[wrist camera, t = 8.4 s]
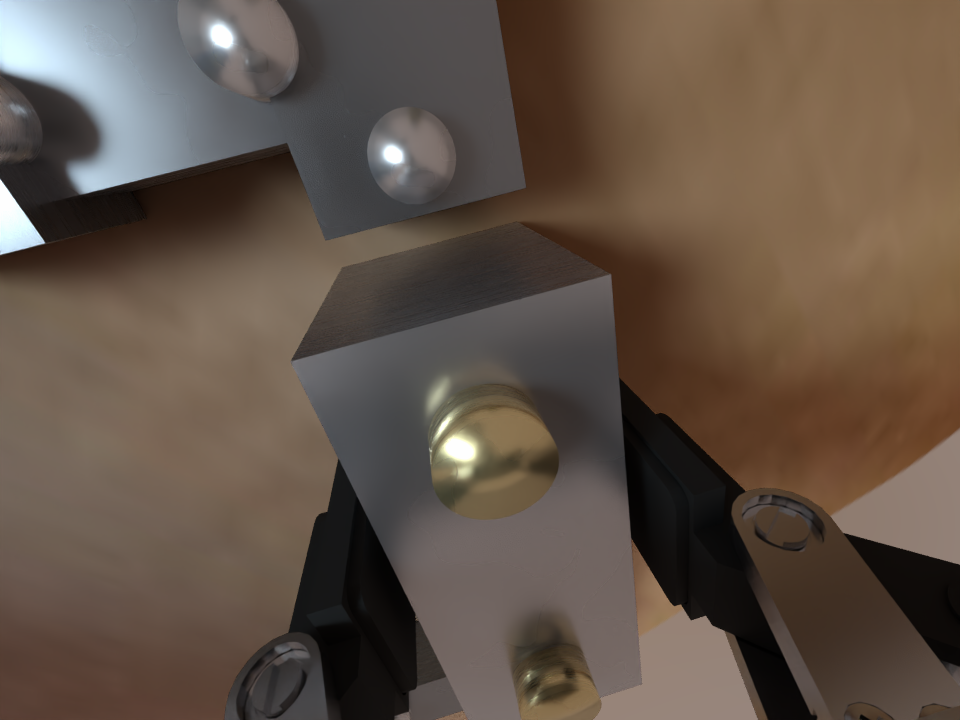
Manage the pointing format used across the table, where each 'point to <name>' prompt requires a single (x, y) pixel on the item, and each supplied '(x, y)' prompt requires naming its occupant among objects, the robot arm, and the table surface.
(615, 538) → the link
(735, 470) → the table surface
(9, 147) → the chain end
